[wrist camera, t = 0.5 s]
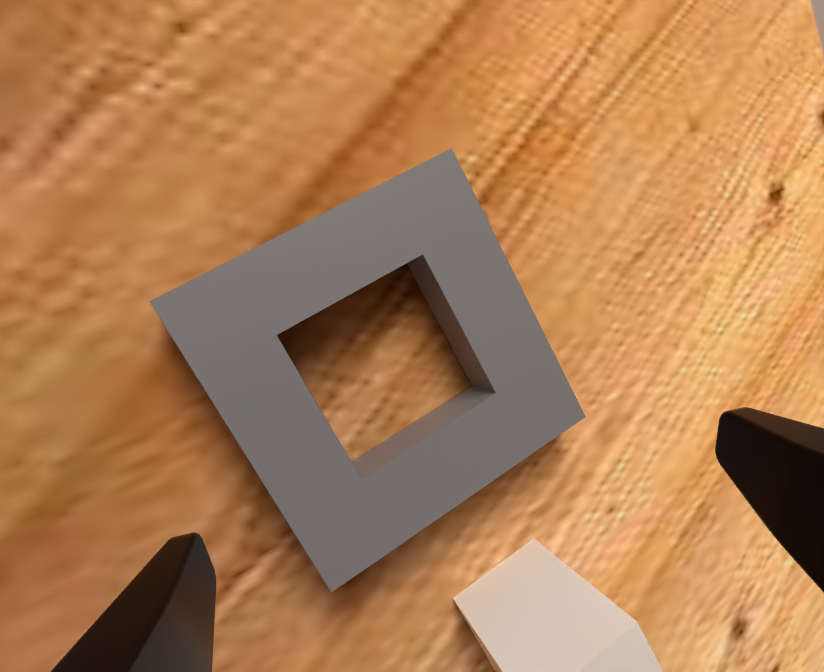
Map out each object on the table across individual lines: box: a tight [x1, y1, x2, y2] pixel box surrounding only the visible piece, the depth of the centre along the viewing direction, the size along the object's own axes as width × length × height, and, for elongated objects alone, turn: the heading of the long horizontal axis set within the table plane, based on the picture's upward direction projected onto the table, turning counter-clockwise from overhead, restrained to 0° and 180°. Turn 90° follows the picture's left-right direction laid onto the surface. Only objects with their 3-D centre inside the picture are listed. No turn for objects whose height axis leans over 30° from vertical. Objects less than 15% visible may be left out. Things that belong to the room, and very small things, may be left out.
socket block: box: [150, 148, 585, 593], centre depth 21 cm, size 12×12×2 cm
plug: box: [453, 539, 663, 672], centre depth 21 cm, size 4×4×7 cm
